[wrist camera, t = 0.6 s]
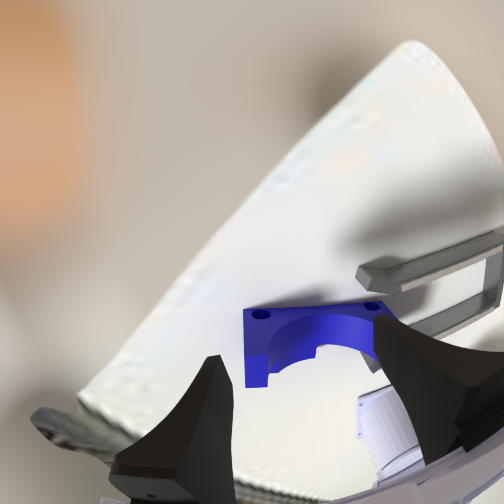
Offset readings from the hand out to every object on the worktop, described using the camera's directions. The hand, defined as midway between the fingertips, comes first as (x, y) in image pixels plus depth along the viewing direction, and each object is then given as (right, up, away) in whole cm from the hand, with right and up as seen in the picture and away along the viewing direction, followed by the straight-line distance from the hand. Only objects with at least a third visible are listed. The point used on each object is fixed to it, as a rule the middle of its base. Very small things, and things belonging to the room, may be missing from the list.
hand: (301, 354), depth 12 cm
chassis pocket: (+16, +1, +10) cm, 19 cm away
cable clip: (+3, -2, +11) cm, 12 cm away
